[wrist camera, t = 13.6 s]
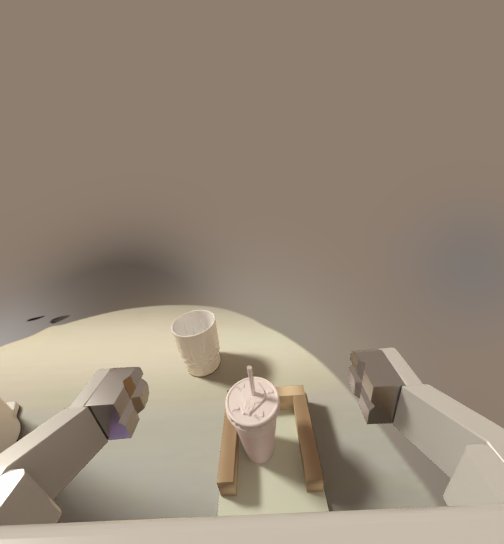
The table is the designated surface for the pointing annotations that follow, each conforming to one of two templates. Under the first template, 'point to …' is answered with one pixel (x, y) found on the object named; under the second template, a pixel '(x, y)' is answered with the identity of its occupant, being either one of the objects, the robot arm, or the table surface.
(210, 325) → the white cup
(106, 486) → the table surface
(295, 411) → the rack
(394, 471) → the table surface
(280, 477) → the mat
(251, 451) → the smoothie
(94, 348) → the table surface
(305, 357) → the table surface
